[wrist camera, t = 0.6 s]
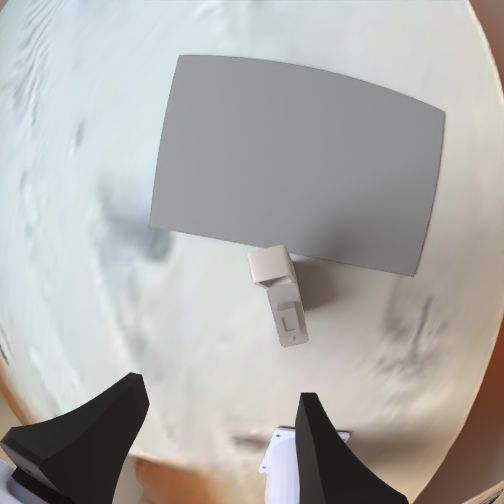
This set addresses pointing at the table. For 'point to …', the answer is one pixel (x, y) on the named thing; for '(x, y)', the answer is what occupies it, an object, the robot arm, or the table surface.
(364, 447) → the table surface
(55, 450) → the robot arm
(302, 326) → the lighter
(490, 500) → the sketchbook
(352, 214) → the mat
